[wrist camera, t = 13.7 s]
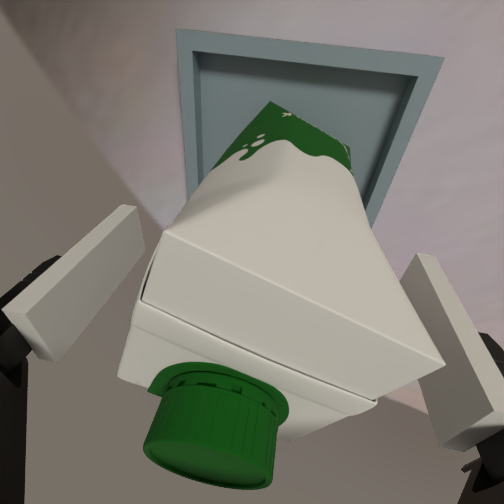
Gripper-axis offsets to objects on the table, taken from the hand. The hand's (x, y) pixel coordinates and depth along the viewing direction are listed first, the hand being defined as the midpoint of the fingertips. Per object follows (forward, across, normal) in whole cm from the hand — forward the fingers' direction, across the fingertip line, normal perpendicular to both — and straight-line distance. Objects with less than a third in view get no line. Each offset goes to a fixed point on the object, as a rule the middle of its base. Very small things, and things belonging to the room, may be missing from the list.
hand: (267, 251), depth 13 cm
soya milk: (+12, 0, 0) cm, 12 cm away
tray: (+13, 0, 0) cm, 13 cm away
